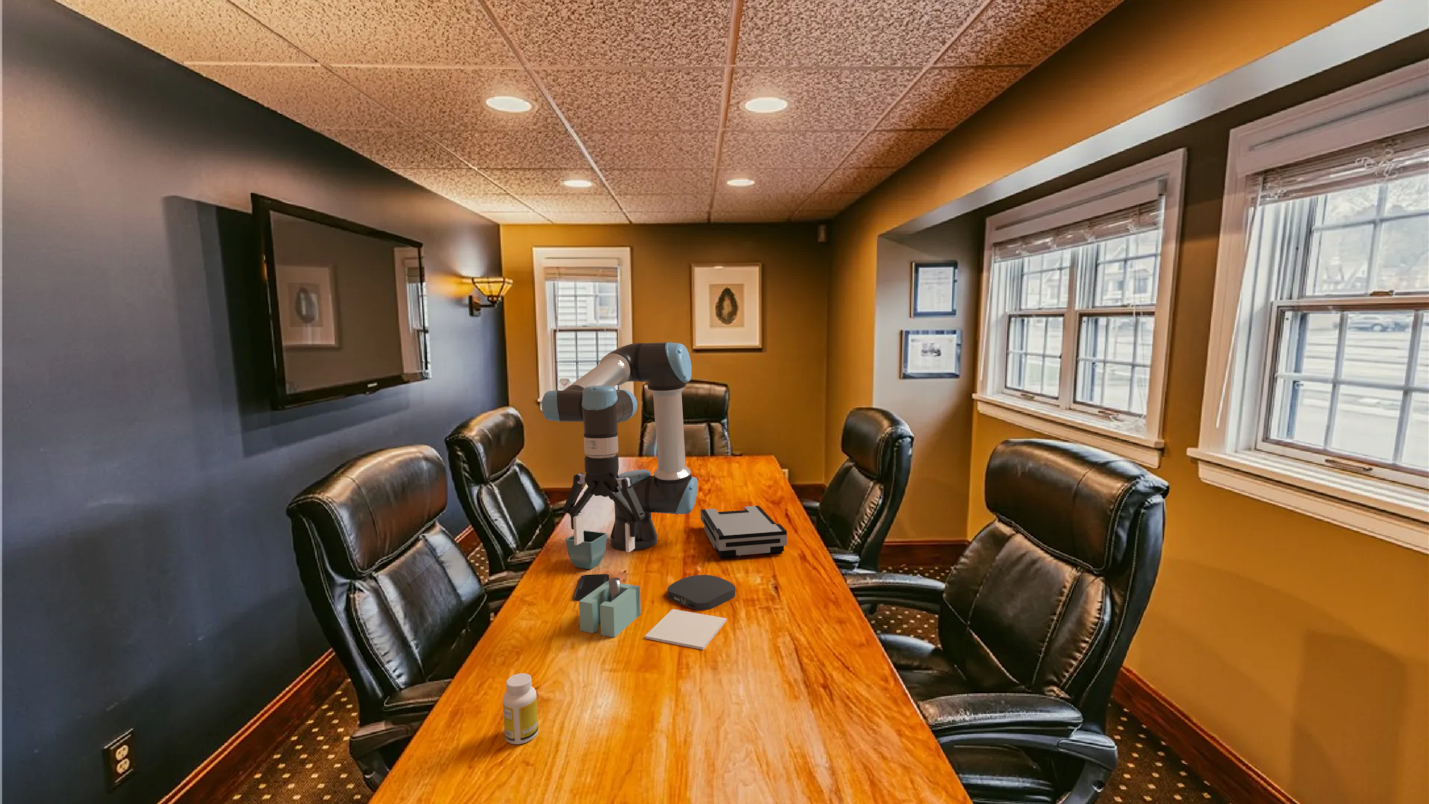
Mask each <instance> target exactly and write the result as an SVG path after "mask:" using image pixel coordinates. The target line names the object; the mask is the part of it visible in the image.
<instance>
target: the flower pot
mask: <svg viewBox="0 0 1429 804" xmlns="http://www.w3.org/2000/svg"><path fill="white" fill-rule="evenodd" d="M583 533H584V542H582V543H580V544H578V545H574V534H573V535H572V536H569V537H567V538H566V539H565V543H566V548H567V553H568V556H569V559H570V562H572V564H573V565H574V567H575V568H579V569H586V570H592V569H593V568H594V567H595V568H596V566H598V565H600V564H601V562H602V560H603V558H604V556H605V554H606V548H607V541H608V540H607V538H608V533H606V532H599V531H591V530H583Z"/></svg>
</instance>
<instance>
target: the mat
mask: <svg viewBox="0 0 1429 804" xmlns="http://www.w3.org/2000/svg"><path fill="white" fill-rule="evenodd" d="M727 620H728V618H725V617H720V616H715V615H711V614H709V615H708V614H703V613H698V612H691V611H686V610H680V609H676V608H675V609H674V608H671V610H669V612H667V614H666V615H664V617H663V618H662V619H661V620H660V621H658V622H657V624H655V625H654V626H653V627H652V628H651V629H650V630H649V631H648V632H647V633H646V634H645V635H644V639H645V640H646V639H647V640H652V641H657V642H662V643H664V644H665V643H666V644H672V645H675V646H681V647H686V648H692V649H697V650H703V651H704V650H705V649H706V648H707V646H708V645H709V643H711V641H712V640H713V638H714V637H715V636H716V635H717V633H718V632H719V631H720V630H721V629H722V628H723V626H724V625H725V624H726V622H727Z"/></svg>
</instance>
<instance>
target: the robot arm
mask: <svg viewBox="0 0 1429 804" xmlns="http://www.w3.org/2000/svg"><path fill="white" fill-rule="evenodd" d="M690 356H691V355H690V353H689V350H688V349H687V347H686V346H685V345H684V344H682V343H679V342H669V341H668V342H665V341H664V342H635V343H629V344H627V345H623V346H620V347H618V348H616V349H615V350H612V351H610V352H608V353H607V354H606V355H604V356H603V357H602V358H601V360H600V361H599V364H598V365H597V366H595V367H593V368H592V369H591V370H589V371H588V372H587V373H585V374H584V375H583V376H581V377H580V378H578V379H577V380H576V381H574V382H573V383H571V384H570V385H569V386H567V387H565V388H564V389H563V390H558V389H556V390H548V391H546V392H544V394H543V396H542V400H541V412H542V415H543V417H544V419H546V420H547V421H551V422H559V423H567V422H568V423H569V422H570V423H571V422H574V423H579V422H580V423H581V422H582V424H583V450H584V451H583V453H584V455H585V457H583V458H584V472H585V474H584V473H583V472H579V473H578V474H574V475H573V478H572V486H571V488H570V491H569V494H568V496H567V498H566V501H565V503H564V506H563V508H562V513H564V514H568V515H569V516H570V529H571V530H573V535H574V545H578V544H580V543H582V542H584V533H583V531H584V514H583V513H582V510H583V509H584V507H585V506H586V505H587V503H588V502H589V501H590V500H591V498H592V497H593V496H594V497H598V496H601V497H604V498H607V497H608V498H609V499H610V500H612V502H614V504H613V505H614V523H613V527H612V530H611V532H610V536H609V544H610V546H611V547H612V548H614V549H616V550H621V551H625V552H626V553H631V552H632V551H640V550H645V549H648V548H652V547H654V546H655V545H656V544H657V543H658V533H657V531H656V528H655V524H654V522H653V519H652V514H670V515H688V514H690V513H691V512H692V511H693V509H694V507H695V504H696V501H697V495H698V489H699V487H698V486H699V482H698V478H697V477H695V476H692V470H691V468H689V467H688V466H687V465H686V463H687V461H686V450H685V449H686V447H685V432H684V431H685V430H684V415H683V414H684V413H683V399H682V398H683V396H682V395H683V394H682V392H683V391H684V390H685V389H686V388H687V383H689V382H690V381H691V378H692V367H693V366H692V362H691V357H690ZM629 382H640V383H641V382H643V383H646V382H647V383H646V384H647V385H646V386H647V390H648V391H649V392H650V393H652V397H653V412H654V426H655V438H656V439H655V440H656V449H657V450H656V454H657V466H658V467H657V468H656V470H655V471H654V472H653V475H652V473H651V471H650V470H649V469H636V470H630V471H628V470H627V471H625V472H622V473H620V474H619V469H620V468H619V463H620V461H619V455H618V454H617V453H619V434H618V433H619V432H618V429H619V428H618V427H619V426H618V425H619V424H620V423H622V422H626V421H628V420H629V419H631V418H632V417H633V416H634V415H635V414H636V412H637V410H638V401H637V398H636V396H635V395H634V393H633V392H631V391H629V390H626V389H616V386H621V385H624V384H625V383H629ZM584 484H586V486H587V488H586V489H585V490H584V491H583V494H582V495H581V496H580V498H579V495H580V493H581V491H582V488H583V486H584ZM578 498H579V500H578ZM577 500H578V501H577Z"/></svg>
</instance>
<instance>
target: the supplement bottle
mask: <svg viewBox="0 0 1429 804" xmlns="http://www.w3.org/2000/svg"><path fill="white" fill-rule="evenodd" d="M532 682H533V681H532V676H531V675H530V674H528V673H524V672H522V673H515V674H513V675H511V676H510V677H509V678H508V679H507V680H506V683H505V684H506V685H505V686H506V692H505V693H504V694H503V698H502V709H503V710H502V711H503V713H502V714H503V728H504V729H503V730H504V738H505V741H506V742H508V743H509V744H512V745H521V744H525V743H528V742H530V741H532V740H533V739H535V737H536V736H537V735H538V733H539V716H538V715H539V714H538V698H537V697H538V696H537V691H536V689H535V688H534V687H533V686H532V685H533V683H532Z"/></svg>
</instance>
